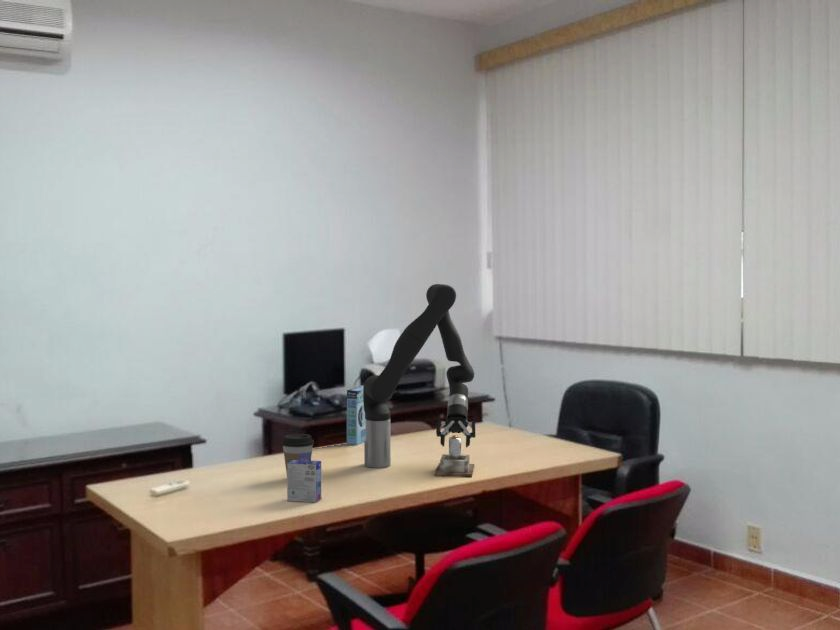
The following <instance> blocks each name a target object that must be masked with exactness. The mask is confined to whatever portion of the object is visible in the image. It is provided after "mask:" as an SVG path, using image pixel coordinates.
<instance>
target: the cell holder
mask: <svg viewBox="0 0 840 630" xmlns="http://www.w3.org/2000/svg"><path fill="white" fill-rule="evenodd" d="M473 469H474V470H475V464H474V463H470V454H461V460H449V453H448V454H445V453H444V454H441V458H440V460H439V463H438V465H437V467H436V469H435V472H434V476H435V477H450V476H468V477H467V478H472V477H473V475H474V474H473V473H474V470H473Z"/></svg>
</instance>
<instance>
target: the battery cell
mask: <svg viewBox="0 0 840 630" xmlns="http://www.w3.org/2000/svg"><path fill="white" fill-rule="evenodd" d="M448 454H449V460H461V455H462V437H459V436H458V435H452V436H451V437H448Z"/></svg>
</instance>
